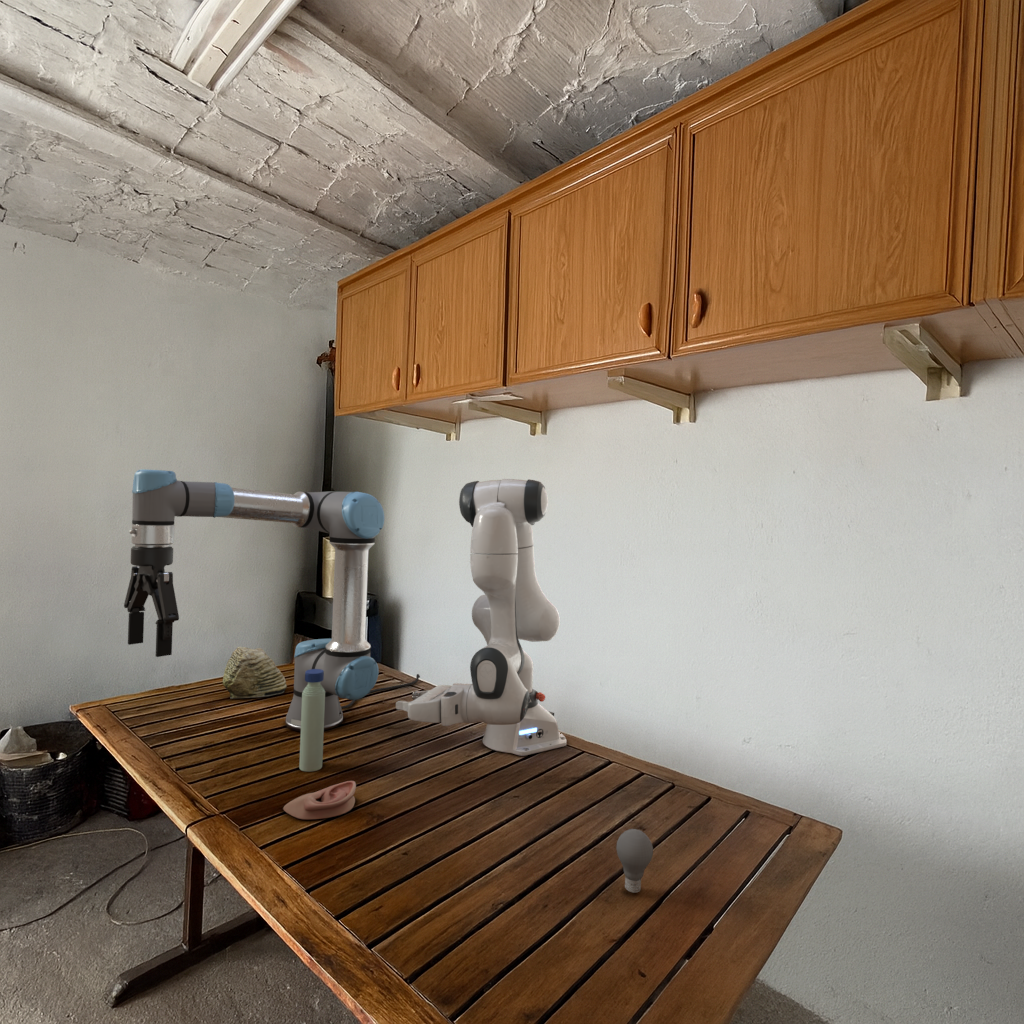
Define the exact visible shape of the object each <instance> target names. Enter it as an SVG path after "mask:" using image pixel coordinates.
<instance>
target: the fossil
mask: <svg viewBox="0 0 1024 1024" xmlns="http://www.w3.org/2000/svg"><path fill="white" fill-rule="evenodd" d="M222 676H223V677H222V685H223V687H224V688H225V690H226V691H228V693H229V698H230V699H250V698H264V697H271V696H275V695H281V694H284V693H285V691H286V689H287V687H288V686H287V680H286V678H285V676H284V674H283V673H282V672H281V669H279V668H278V667H277V665H276V663H275V662H274V660H273V659H272V658H271V657H270V656H269V655H268V654H267V653H266V652H265V650H264V649H263V648H260V647H258V648H251V647H247V646H246V647H245V646H238V647H237V648H236V649H235V650H233V651H232V653H231V656H230V657H229V659H228V660H227V663H226V666H225V668H224V671H223V675H222Z"/></svg>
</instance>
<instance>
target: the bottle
mask: <svg viewBox="0 0 1024 1024" xmlns="http://www.w3.org/2000/svg"><path fill="white" fill-rule="evenodd" d="M324 710H325V690H324V688H323V687H322V686H321V684H320V682H315V683H311V682H308V685H307V686H306V687H305V689H304V690H303V692H302V711H301V731H300V739H299V765H298V768H299V770H300V771H302V772H307V773H308V772H309V773H311V772H316V771H319V770H321V769H322V768H323V761H324V760H323V758H324V737H325V736H324V733H325V731H324Z"/></svg>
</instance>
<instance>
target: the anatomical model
mask: <svg viewBox="0 0 1024 1024" xmlns="http://www.w3.org/2000/svg"><path fill="white" fill-rule="evenodd" d="M356 790H357V783H356V781H354V780H347V781H343V782H340V783H336V784H333V785H330V786H328V787H325V788H323V789H320V790H318V791H315V792H309V793H306V794H302V795H300V796H298V797H296V798H294V799H292V800H290V801H289V802H287V803H286V804H285V805H284V806H283V807H282V810H283V812H285V813H287V814H288V815H289V816H292V817H294V818H296V819H299V820H319V819H320V820H321V819H328V818H333V817H337V816H341V815H343V814H347V813H348V812H350V811H351V810H352V809H353V808H354V806H355V803H356V798H355V796H354V795H355V793H356Z"/></svg>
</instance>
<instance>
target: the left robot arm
mask: <svg viewBox="0 0 1024 1024" xmlns="http://www.w3.org/2000/svg"><path fill="white" fill-rule="evenodd" d="M131 494H132V511H131V512H132V515H131V518H132V519H131V520H132V521H131V529H129V532H128V533H129V534H130V535H131V544H132V545H133V546H132V547H131V548H130V564H131V565H132V566H131V571H130V579H129V583H128V586H127V590H126V595H125V599H124V603H123V607H124V609H126V610H127V613H128V621H127V622H128V626H127V627H128V628H127V645H128V646H129V645H130V646H131V645H137V644H144V629H145V611H146V608H145V605H146V602H147V600H148V598H149V596H150V597H151V599H152V602H153V606H154V609H155V612H156V616H157V620H156V621H155V625H156V630H155V631H156V633H155V658H159V657H160V658H161V657H166V656H172V655H173V654H172V653H173V627H174V625H173V623H175V622H176V621H180V620H179V619H180V615H179V609H178V603H177V598H176V593H175V587H174V573H173V572H172V571H165V570H166V569H165V568H166V566H171V565H173V563H174V547H173V546H171V545H173V544H174V543H175V518H176V517H179V518H180V517H192V518H193V517H195V518H223V519H224V518H225V519H237V520H248V521H249V520H250V521H261V522H274V523H288V524H291V525H292V526H293V527H294V528H304V529H309V530H312V531H313V530H314V531H318V532H321V533H325V534H329V544H330V545H331V546H332V547H333V549H334V569H333V571H334V572H333V595H332V596H333V597H332V621H331V622H332V625H331V638H318V639H308V640H304V641H300V642H299V643H297V645H296V646H295V650H294V655H293V657H294V672H293V673H294V674H293V695H292V696H293V697H292V699H291V702H290V704H289V708H288V711H287V713H286V715H285V726H286V728H287V729H289V730H291V731H294V732H295V731H296V732H301V711H302V692H303V690H304V689H305V687H306V686H307V685H308V682H306V681H305V672H306V671H307V670H310V669H321V670H323V671H324V679H323V681H321V682H320V684H321V686H322V687H323V688H324V690H325V710H324V732H325V731H329V730H332V729H335V728H337V727H339V726H340V725H342V723H343V722H344V714H343V710H345V709H349V708H350V707H351V706H353V705H354V704H355V702H356V701H358V700H360V699H362V698H364V697H365V696H367V695H370V694H373V693H377V692H382V691H387V690H388V691H389V690H395V689H399V688H404V687H409V686H412V685H415V684H417V682H419V678H421V675H420V674H419V673H417V674H416V678H415V680H413V681H411V682H407V683H402V684H397V685H392V686H385V687H380V688H375V689H374V687H375V685H376V683H377V681H378V678H379V674H380V673H379V671H380V670H379V669H380V668H379V665H378V663H377V662H376V660H375V659H374V658H373V657H371V652H372V651H371V648H372V646H371V643H370V642H368V640H367V639H366V630H367V629H366V628H367V625H366V624H367V602H368V601H367V600H368V575H369V574H368V573H369V572H368V571H369V551H370V549H371V548H372V547H373V546H374V545H375V544H376V543H375V541H376V539H375V538H376V536H378V535H379V534H380V532H381V530H383V528H384V525H385V511H384V508H383V506H382V503H381V502H380V501H379V500H378V498H377V497H375V496H374V495H372V494H370V493H367V492H361V491H337V490H336V491H335V490H333V491H332V490H330V491H312V492H311V491H309V492H308V491H296V492H295V493H294V494H292V493H283V492H277V491H276V492H275V491H266V490H257V489H250V488H240V487H232V486H230V484H228V483H225V482H224V483H223V482H217V481H214V482H211V481H187V480H186V481H184V480H178V479H177V474H176V472H175V471H173V470H162V469H146V468H145V469H144V468H143V469H138V470H136V471H135V472H134V475H133V483H132V490H131ZM339 698H341V699H342V700H343V699H344V700H348V701H349V700H350V702H349V703H348V704H346V705H341V702H340V699H339Z"/></svg>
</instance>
